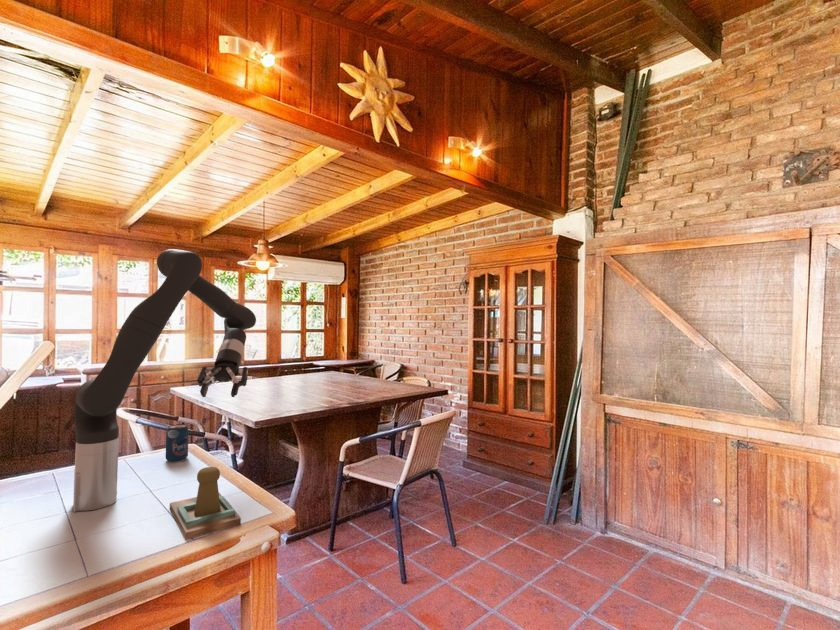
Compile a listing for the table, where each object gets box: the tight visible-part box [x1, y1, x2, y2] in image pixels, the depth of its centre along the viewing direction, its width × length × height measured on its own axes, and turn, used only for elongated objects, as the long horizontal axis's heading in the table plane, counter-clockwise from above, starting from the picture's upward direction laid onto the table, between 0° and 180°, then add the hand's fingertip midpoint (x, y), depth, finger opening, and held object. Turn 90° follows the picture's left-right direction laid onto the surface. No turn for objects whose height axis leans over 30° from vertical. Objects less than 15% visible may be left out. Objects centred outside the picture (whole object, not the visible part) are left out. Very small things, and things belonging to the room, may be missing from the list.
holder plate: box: [169, 492, 242, 540], centre depth 108 cm, size 12×20×3 cm, turn 39°
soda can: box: [165, 423, 190, 463], centre depth 151 cm, size 7×7×12 cm
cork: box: [194, 466, 221, 517], centre depth 107 cm, size 6×6×11 cm
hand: (218, 395), depth 131 cm, fingers open, 8 cm apart
